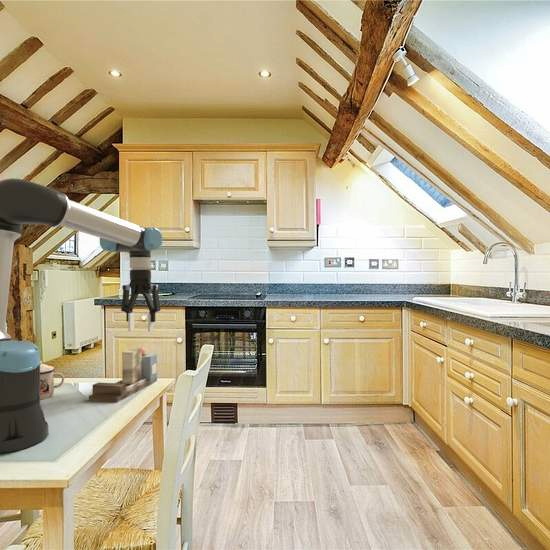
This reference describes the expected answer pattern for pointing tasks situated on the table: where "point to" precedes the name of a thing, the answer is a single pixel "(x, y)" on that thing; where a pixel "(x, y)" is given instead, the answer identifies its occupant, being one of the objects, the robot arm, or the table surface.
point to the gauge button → (142, 351)
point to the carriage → (131, 366)
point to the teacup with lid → (48, 381)
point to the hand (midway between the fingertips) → (141, 330)
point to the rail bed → (116, 390)
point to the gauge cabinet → (149, 367)
